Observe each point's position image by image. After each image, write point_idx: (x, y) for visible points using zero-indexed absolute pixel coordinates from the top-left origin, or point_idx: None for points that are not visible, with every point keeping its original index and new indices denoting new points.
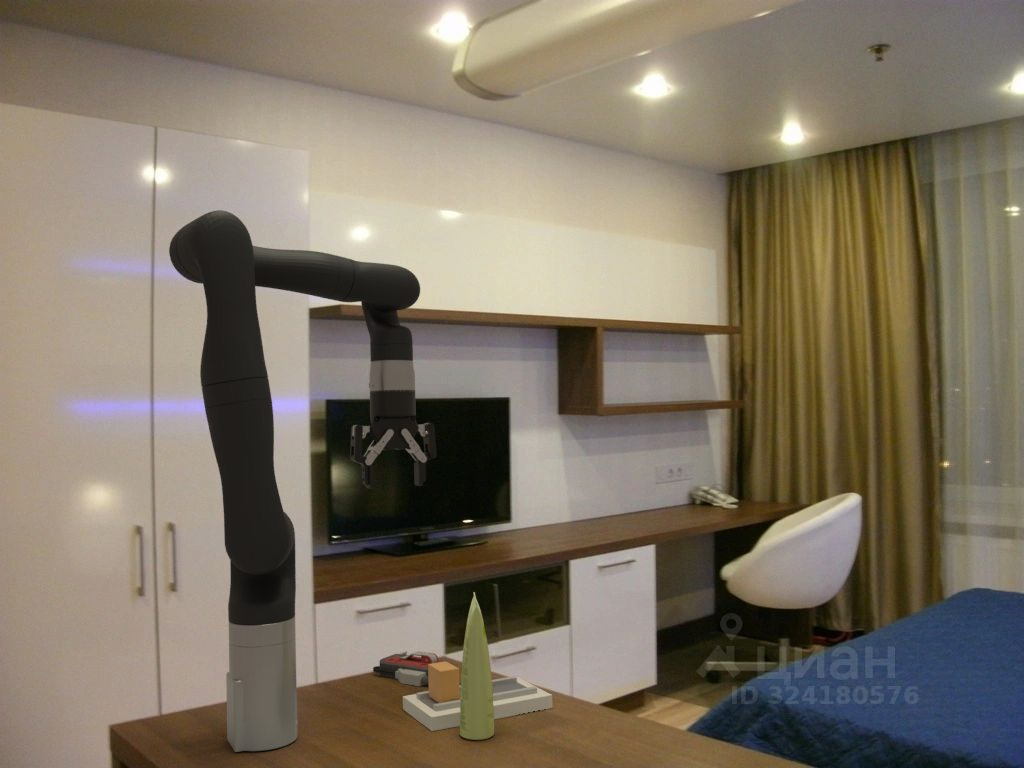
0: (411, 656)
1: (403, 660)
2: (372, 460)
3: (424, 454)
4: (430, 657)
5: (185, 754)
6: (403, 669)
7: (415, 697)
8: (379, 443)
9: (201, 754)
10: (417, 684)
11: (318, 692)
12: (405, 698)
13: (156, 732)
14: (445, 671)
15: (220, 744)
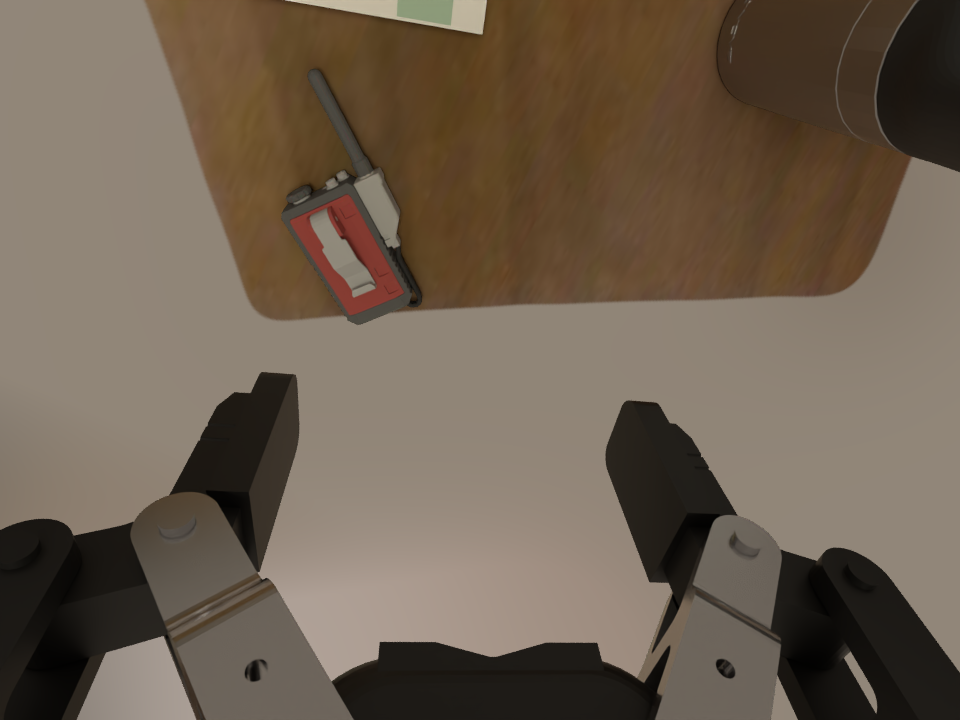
0: (350, 272)
1: (371, 268)
2: (716, 549)
3: (133, 583)
4: (327, 216)
5: None
6: (383, 240)
7: (463, 1)
8: (754, 709)
9: None
10: (381, 170)
11: (549, 259)
12: (484, 13)
13: (844, 220)
14: None
15: None
